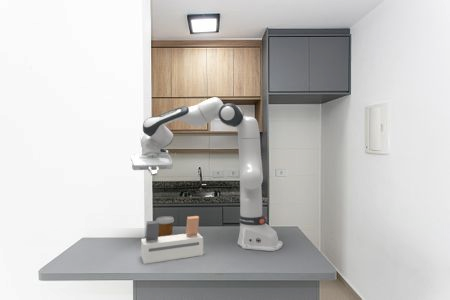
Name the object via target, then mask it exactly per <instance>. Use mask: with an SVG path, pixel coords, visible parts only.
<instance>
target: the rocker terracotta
mask: <svg viewBox="0 0 450 300" xmlns="http://www.w3.org/2000/svg"><path fill="white" fill-rule="evenodd" d="M199 222H200V216H199V215H192V216H187V217H186V227H185V234H186V236H191V235H197V233H199V224H200V223H199Z"/></svg>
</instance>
